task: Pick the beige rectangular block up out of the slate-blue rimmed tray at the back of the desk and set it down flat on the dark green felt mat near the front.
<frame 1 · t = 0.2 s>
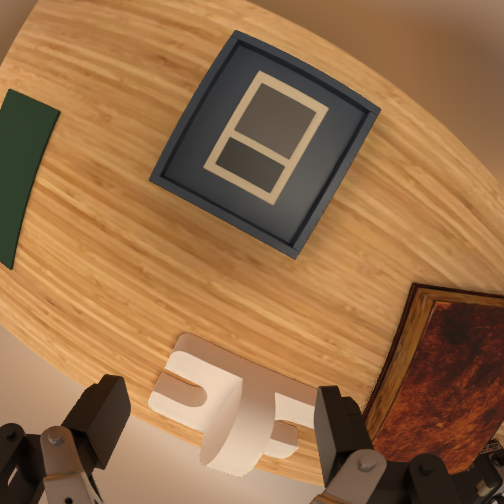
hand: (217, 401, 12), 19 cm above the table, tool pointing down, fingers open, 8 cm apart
book: (445, 392, 34), on the table
beige rectangular block: (265, 140, 27), point 1 cm above the table, touching tray
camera: (467, 462, 40), on the table
mat: (4, 179, 28), on the table
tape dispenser: (238, 393, 34), on the table
tray: (265, 140, 27), on the table
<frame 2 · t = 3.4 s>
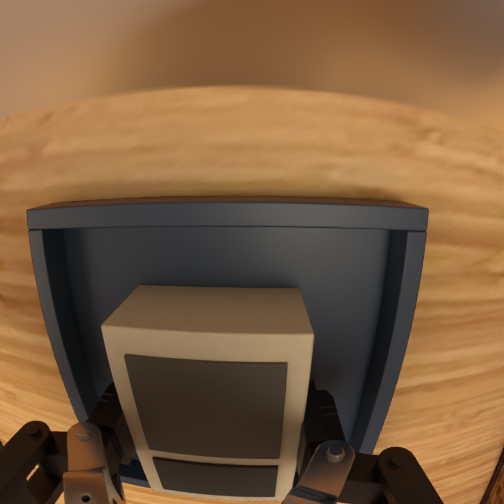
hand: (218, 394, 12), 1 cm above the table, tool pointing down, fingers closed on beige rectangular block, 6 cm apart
beige rectangular block: (221, 381, 13), point 1 cm above the table, touching gripper, tray
tray: (222, 374, 14), on the table
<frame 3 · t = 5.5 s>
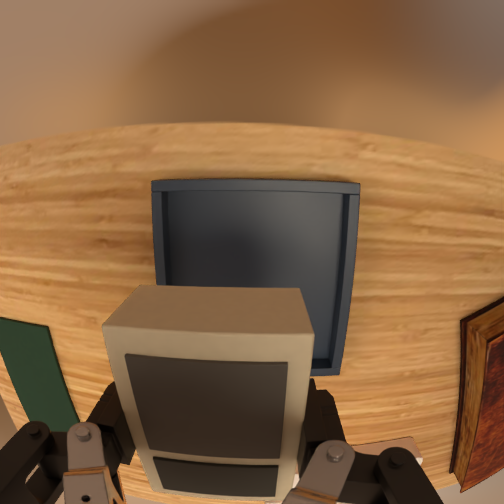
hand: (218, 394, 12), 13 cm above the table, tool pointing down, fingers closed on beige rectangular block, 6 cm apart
beige rectangular block: (221, 381, 13), point 13 cm above the table, touching gripper
mat: (40, 392, 30), on the table
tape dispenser: (338, 468, 31), on the table
tray: (254, 279, 25), on the table
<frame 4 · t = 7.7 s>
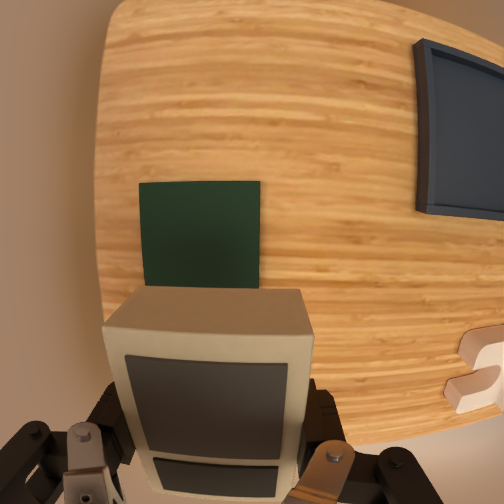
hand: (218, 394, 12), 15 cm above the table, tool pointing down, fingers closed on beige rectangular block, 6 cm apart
beige rectangular block: (221, 382, 13), point 14 cm above the table, touching gripper
mat: (201, 297, 28), on the table
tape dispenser: (502, 355, 29), on the table
tray: (478, 136, 23), on the table
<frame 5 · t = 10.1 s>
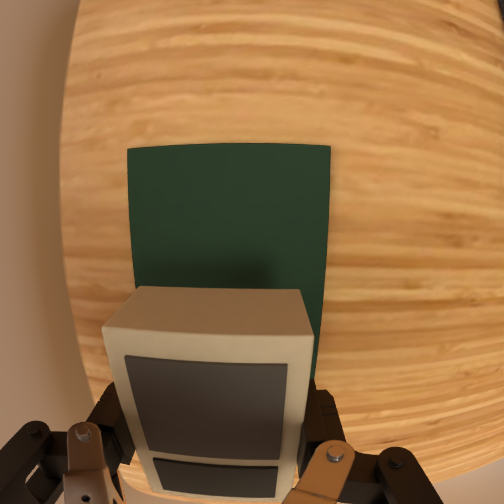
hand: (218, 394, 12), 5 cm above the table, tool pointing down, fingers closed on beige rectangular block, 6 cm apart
beige rectangular block: (221, 382, 13), point 4 cm above the table, touching gripper
mat: (228, 332, 17), on the table
when the fingers open (1 cm above the table, at t = 11.8 s): beige rectangular block stays where it is, resting on mat.
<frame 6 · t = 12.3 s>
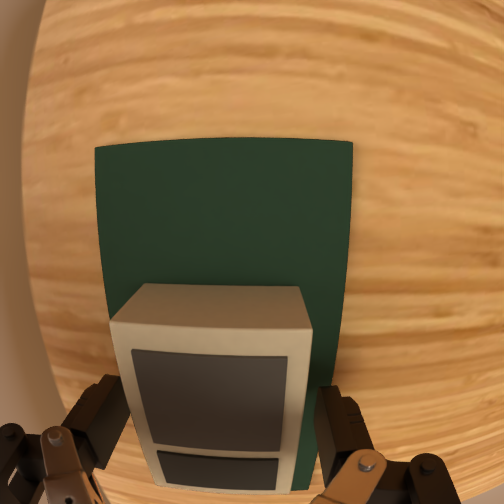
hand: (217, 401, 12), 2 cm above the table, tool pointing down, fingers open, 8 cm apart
beige rectangular block: (223, 377, 14), resting on mat
mat: (223, 371, 14), on the table
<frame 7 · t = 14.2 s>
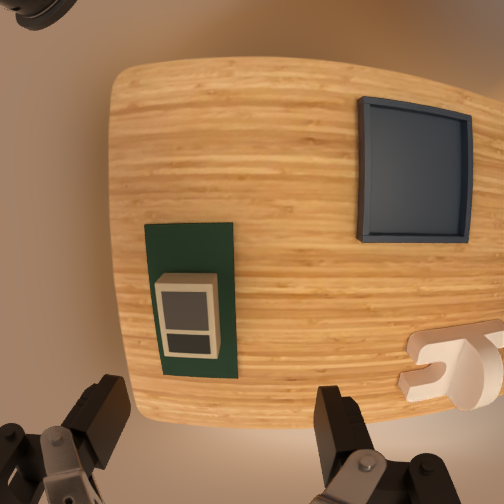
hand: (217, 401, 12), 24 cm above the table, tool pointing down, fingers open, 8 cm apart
beige rectangular block: (192, 309, 37), resting on mat
mat: (193, 307, 37), on the table
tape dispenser: (453, 353, 38), on the table
tray: (416, 172, 32), on the table
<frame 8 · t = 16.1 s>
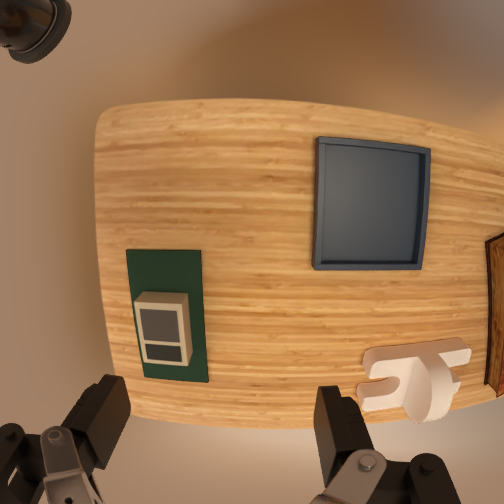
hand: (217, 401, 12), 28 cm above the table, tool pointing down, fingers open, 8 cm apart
beige rectangular block: (168, 322, 42), resting on mat
mat: (168, 321, 42), on the table
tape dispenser: (411, 367, 44), on the table
tray: (371, 205, 37), on the table
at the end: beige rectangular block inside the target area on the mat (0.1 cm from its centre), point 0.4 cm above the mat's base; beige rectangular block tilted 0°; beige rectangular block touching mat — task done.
